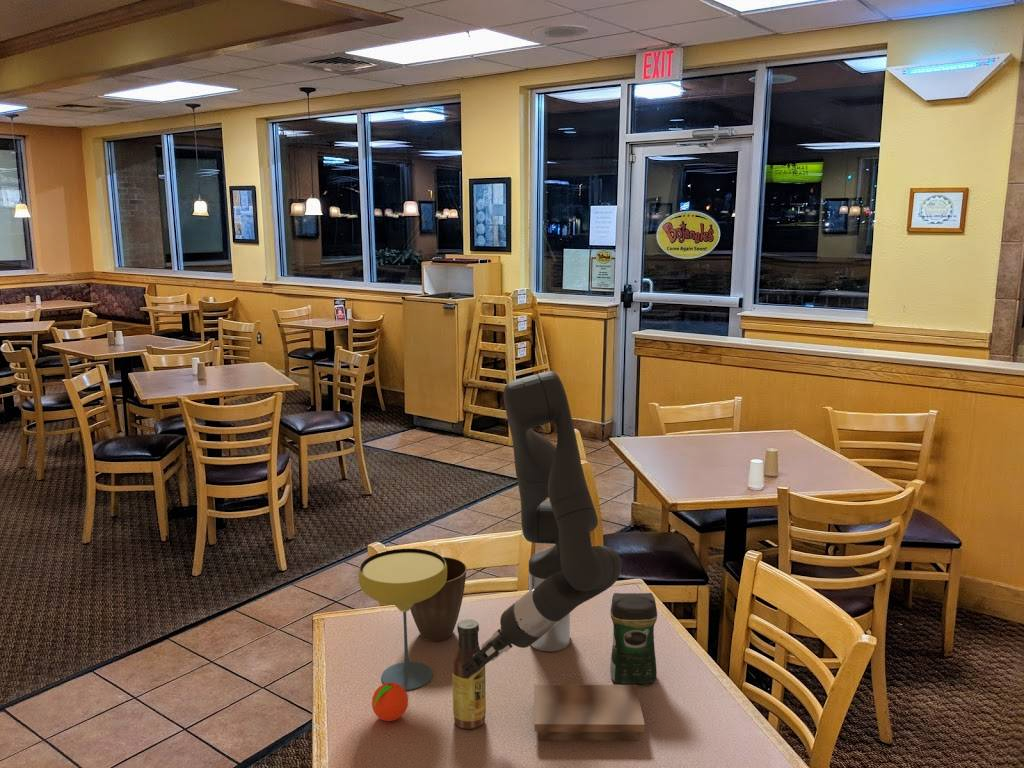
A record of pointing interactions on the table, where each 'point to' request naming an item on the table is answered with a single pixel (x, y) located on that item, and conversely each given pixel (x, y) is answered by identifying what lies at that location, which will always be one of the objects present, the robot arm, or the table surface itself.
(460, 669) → the sauce bottle
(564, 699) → the walnut shelf
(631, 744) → the table surface
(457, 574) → the plant pot
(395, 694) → the clementine
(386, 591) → the cocktail glass
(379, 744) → the table surface
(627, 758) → the table surface
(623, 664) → the coffee jar
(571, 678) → the table surface
